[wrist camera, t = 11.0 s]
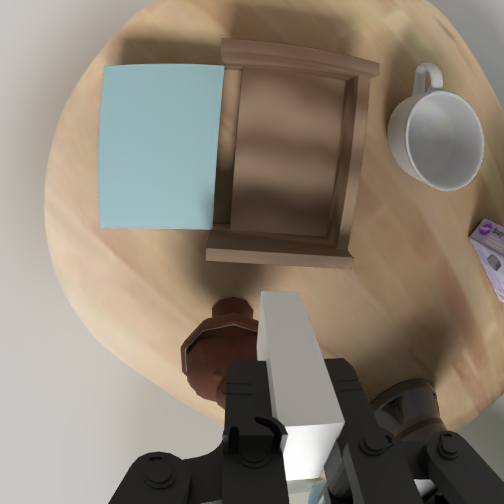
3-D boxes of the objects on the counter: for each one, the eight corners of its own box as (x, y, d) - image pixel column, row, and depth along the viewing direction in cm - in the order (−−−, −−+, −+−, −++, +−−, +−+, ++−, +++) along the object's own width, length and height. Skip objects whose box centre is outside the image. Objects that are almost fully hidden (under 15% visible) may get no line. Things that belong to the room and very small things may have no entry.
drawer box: (329, 241, 37) (351, 269, 29) (212, 233, 36) (205, 260, 28) (350, 76, 30) (379, 63, 22) (225, 59, 29) (221, 38, 21)
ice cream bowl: (277, 279, 38) (298, 359, 24) (268, 350, 42) (280, 435, 28) (191, 274, 38) (168, 353, 24) (192, 346, 42) (178, 431, 28)
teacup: (443, 181, 35) (481, 194, 27) (374, 177, 34) (406, 190, 27) (444, 79, 30) (483, 74, 22) (372, 64, 29) (405, 50, 22)
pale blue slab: (212, 229, 32) (99, 228, 30) (210, 221, 35) (105, 220, 32) (224, 65, 26) (103, 66, 24) (222, 71, 29) (110, 71, 26)
